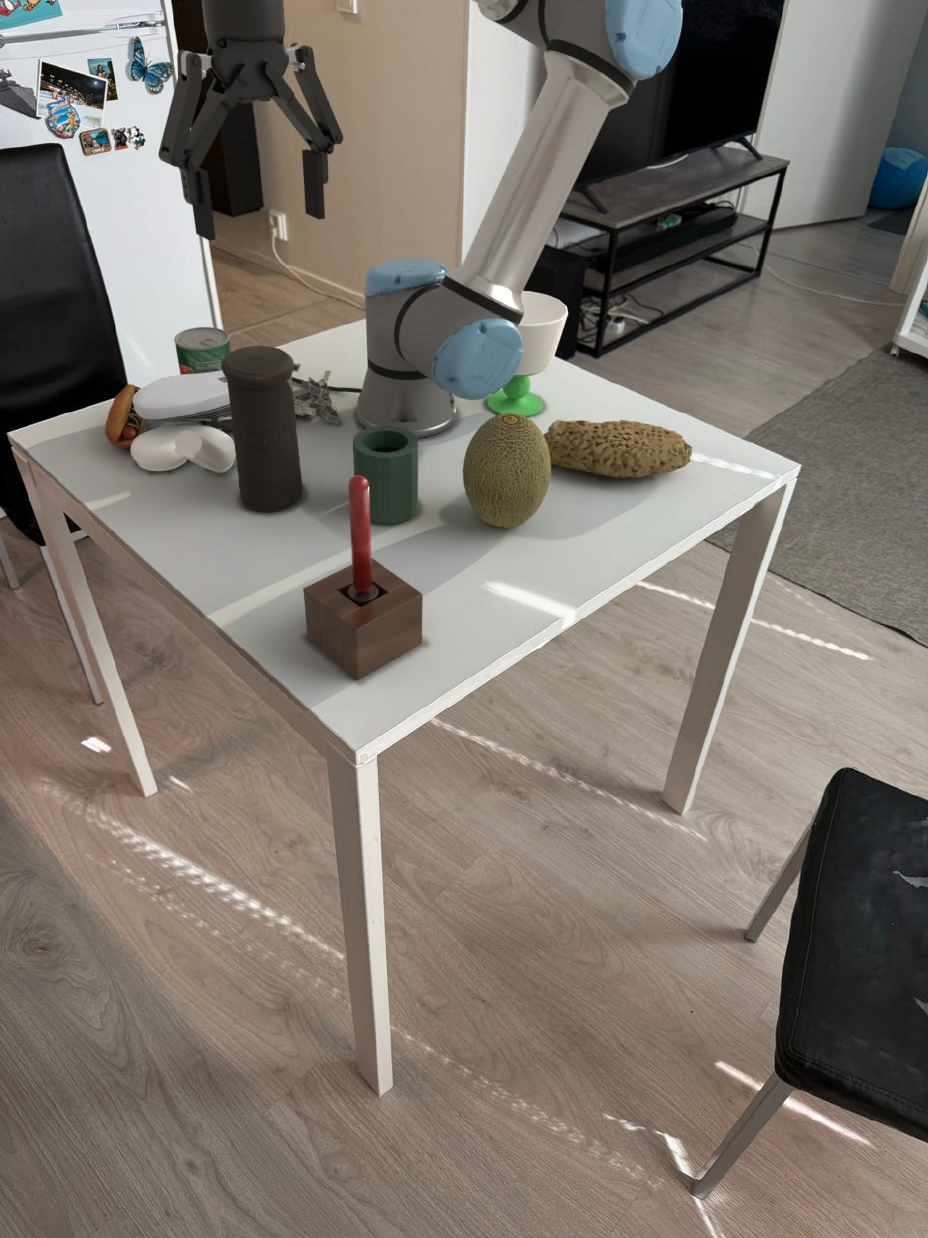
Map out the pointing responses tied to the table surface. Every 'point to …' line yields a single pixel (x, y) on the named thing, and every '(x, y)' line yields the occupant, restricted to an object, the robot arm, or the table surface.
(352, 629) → the holder
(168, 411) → the boat shoe
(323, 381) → the house of cards
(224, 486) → the table surface
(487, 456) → the fruit
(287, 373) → the container
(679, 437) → the sponge
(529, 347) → the cup
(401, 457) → the green hollow cylinder
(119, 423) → the hot dog
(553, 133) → the robot arm
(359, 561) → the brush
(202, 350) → the canned tomato
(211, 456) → the sculpture
